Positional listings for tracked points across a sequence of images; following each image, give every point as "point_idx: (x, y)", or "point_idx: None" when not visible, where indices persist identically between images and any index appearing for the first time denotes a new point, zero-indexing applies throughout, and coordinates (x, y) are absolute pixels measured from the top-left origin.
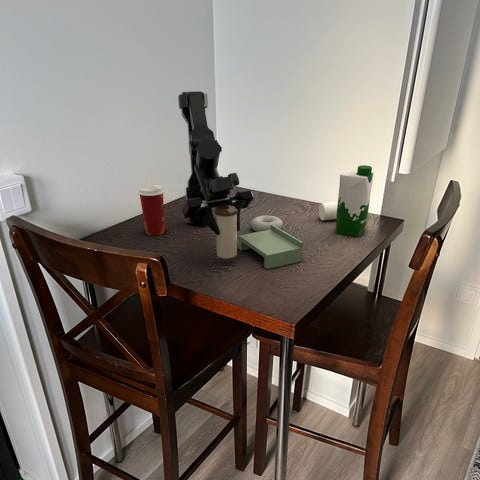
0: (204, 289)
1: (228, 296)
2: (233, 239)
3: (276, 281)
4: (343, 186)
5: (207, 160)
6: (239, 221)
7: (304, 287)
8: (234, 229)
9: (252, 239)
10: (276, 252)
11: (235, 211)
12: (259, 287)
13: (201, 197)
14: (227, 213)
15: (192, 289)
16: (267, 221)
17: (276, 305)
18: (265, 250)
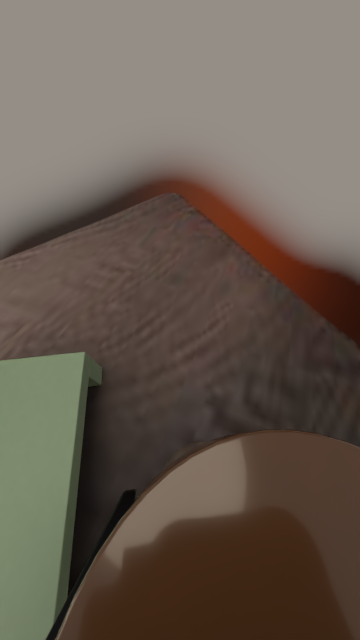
0: (301, 319)
1: (249, 275)
2: (189, 446)
3: (121, 298)
4: None
5: None
6: (86, 570)
7: (85, 259)
8: (182, 454)
9: (12, 599)
10: (39, 361)
11: (164, 471)
12: (172, 287)
13: None
14: (318, 435)
15: (332, 328)
16: None
17: (173, 227)
18: (61, 396)
